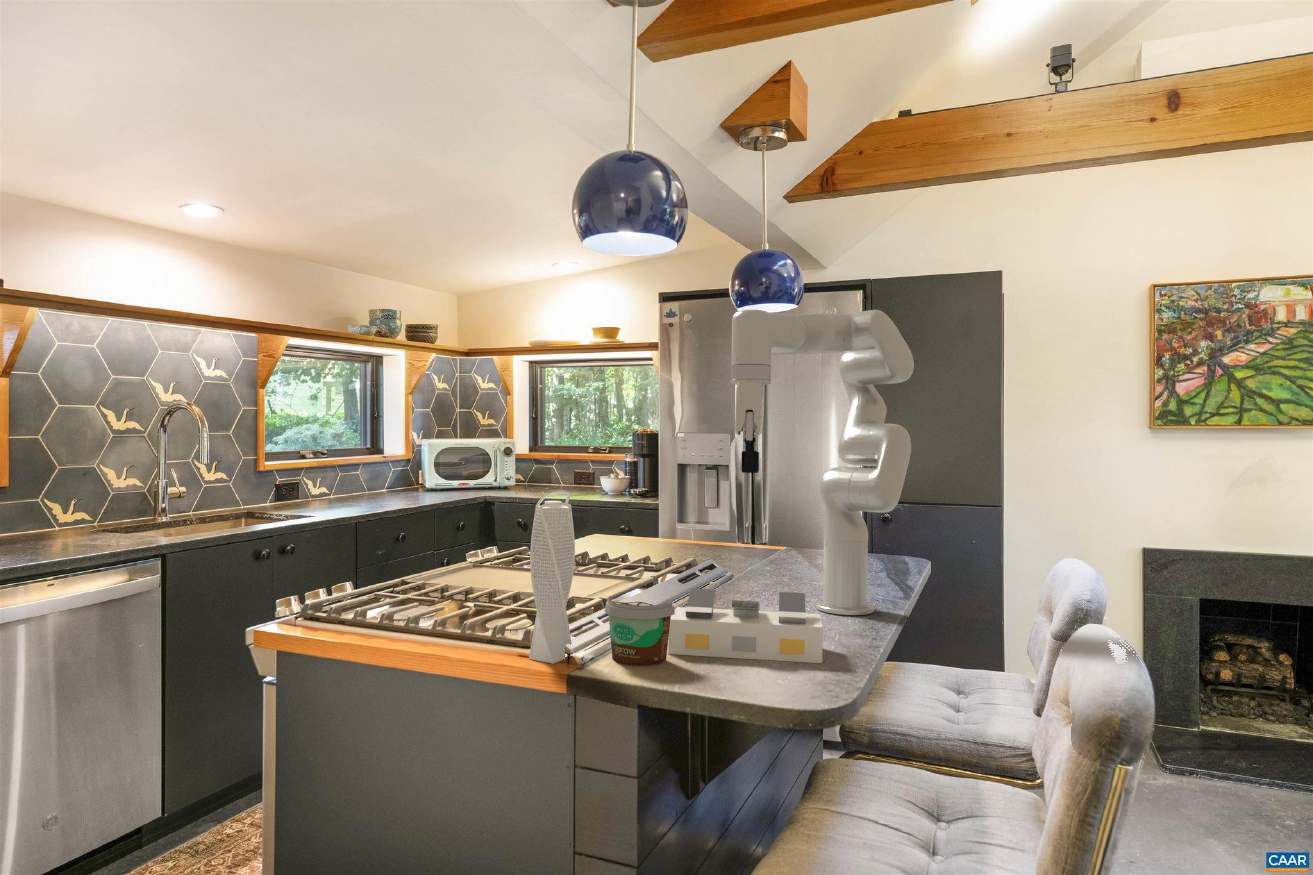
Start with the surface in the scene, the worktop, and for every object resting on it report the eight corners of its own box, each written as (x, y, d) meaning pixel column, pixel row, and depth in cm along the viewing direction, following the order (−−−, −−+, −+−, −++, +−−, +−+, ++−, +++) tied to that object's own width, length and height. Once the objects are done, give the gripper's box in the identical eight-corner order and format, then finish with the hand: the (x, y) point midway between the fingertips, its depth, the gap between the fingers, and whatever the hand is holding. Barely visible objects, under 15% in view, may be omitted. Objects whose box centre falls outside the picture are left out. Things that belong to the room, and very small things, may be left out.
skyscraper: (549, 648, 133) (551, 489, 133) (583, 655, 129) (586, 491, 129) (519, 659, 126) (521, 492, 126) (555, 666, 122) (557, 494, 123)
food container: (591, 663, 125) (592, 602, 125) (606, 653, 130) (607, 595, 130) (661, 671, 120) (662, 609, 120) (674, 661, 126) (675, 601, 126)
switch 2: (734, 608, 137) (734, 602, 138) (759, 610, 136) (759, 603, 137) (731, 607, 130) (731, 600, 130) (758, 608, 129) (758, 601, 129)
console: (676, 639, 140) (677, 600, 140) (819, 647, 136) (819, 607, 136) (668, 654, 130) (668, 612, 130) (822, 663, 126) (822, 620, 126)
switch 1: (691, 594, 139) (691, 588, 138) (715, 595, 138) (715, 589, 138) (685, 617, 131) (685, 611, 131) (711, 618, 131) (711, 612, 130)
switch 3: (779, 597, 136) (779, 591, 136) (804, 598, 135) (804, 592, 135) (778, 622, 129) (778, 616, 128) (805, 624, 128) (805, 617, 128)
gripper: (733, 379, 151) (732, 471, 151) (728, 372, 137) (727, 473, 136) (771, 379, 150) (770, 471, 150) (770, 372, 135) (769, 474, 135)
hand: (750, 472), depth 143 cm, fingers closed
